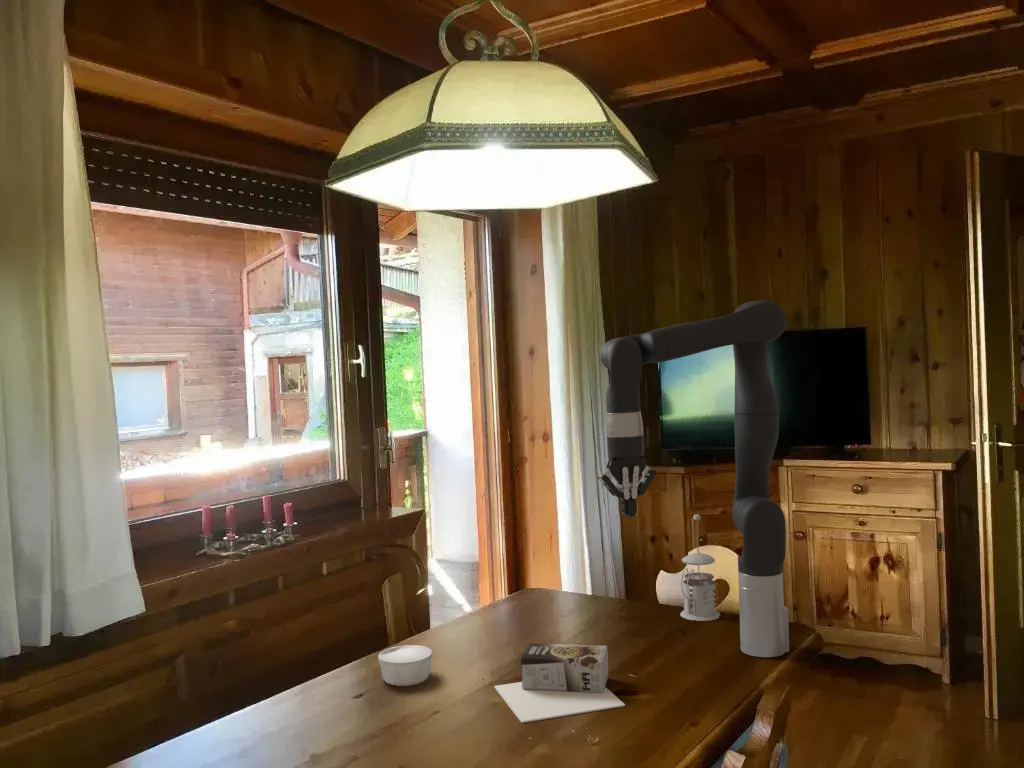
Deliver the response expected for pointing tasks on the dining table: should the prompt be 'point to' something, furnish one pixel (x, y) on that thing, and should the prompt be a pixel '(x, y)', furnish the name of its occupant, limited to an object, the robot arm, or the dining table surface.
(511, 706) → the mat
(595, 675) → the coffee box
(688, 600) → the french press
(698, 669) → the dining table surface
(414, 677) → the ramekin
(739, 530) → the robot arm
